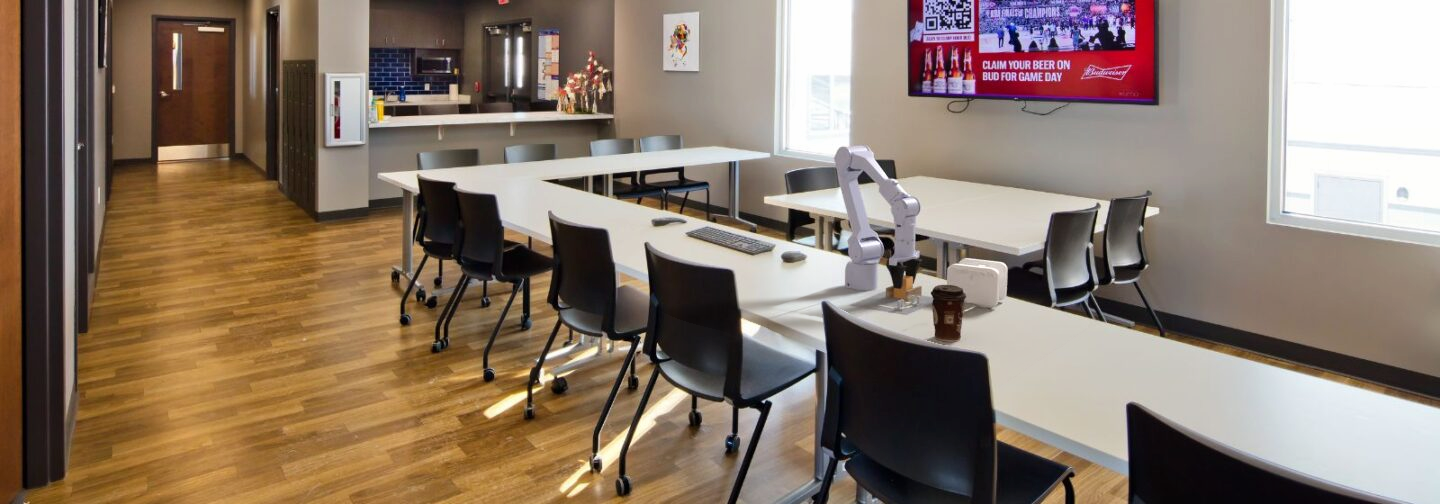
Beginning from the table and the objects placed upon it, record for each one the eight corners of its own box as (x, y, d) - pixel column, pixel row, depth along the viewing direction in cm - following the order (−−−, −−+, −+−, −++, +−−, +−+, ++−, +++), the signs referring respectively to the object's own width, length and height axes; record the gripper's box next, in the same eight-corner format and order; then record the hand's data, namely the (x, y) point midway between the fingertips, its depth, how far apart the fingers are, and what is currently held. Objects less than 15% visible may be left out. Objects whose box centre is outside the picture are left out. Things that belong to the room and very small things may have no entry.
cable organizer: (1009, 302, 265) (1011, 262, 262) (995, 310, 257) (997, 269, 254) (959, 295, 274) (960, 257, 271) (944, 303, 266) (945, 263, 263)
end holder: (885, 298, 268) (885, 288, 267) (899, 292, 274) (899, 283, 273) (908, 301, 263) (908, 291, 263) (921, 296, 269) (921, 286, 269)
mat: (848, 308, 261) (849, 296, 260) (887, 293, 278) (887, 281, 277) (906, 318, 250) (906, 305, 249) (943, 302, 266) (943, 289, 266)
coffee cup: (924, 340, 229) (926, 289, 227) (933, 332, 236) (935, 282, 234) (960, 344, 225) (962, 292, 223) (968, 336, 232) (970, 285, 230)
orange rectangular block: (893, 297, 268) (893, 277, 267) (900, 294, 271) (900, 274, 270) (906, 299, 266) (906, 279, 265) (912, 296, 269) (913, 276, 268)
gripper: (905, 244, 257) (904, 292, 260) (929, 237, 268) (928, 282, 271) (882, 242, 262) (882, 289, 264) (907, 234, 273) (906, 279, 275)
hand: (903, 285), depth 268 cm, fingers open, 7 cm apart
